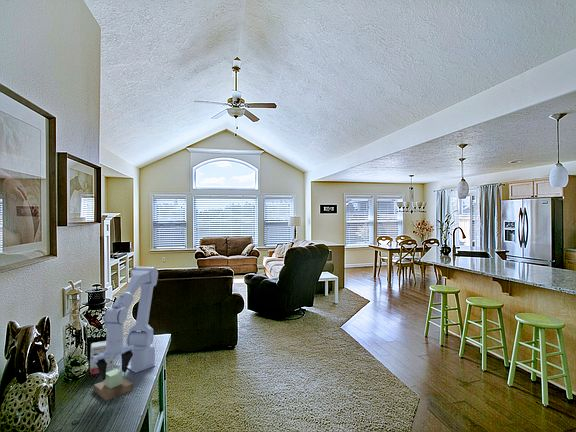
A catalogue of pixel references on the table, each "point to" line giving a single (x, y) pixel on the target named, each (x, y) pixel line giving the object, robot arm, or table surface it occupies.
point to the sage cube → (113, 378)
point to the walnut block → (113, 389)
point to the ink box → (95, 350)
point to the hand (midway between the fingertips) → (113, 375)
